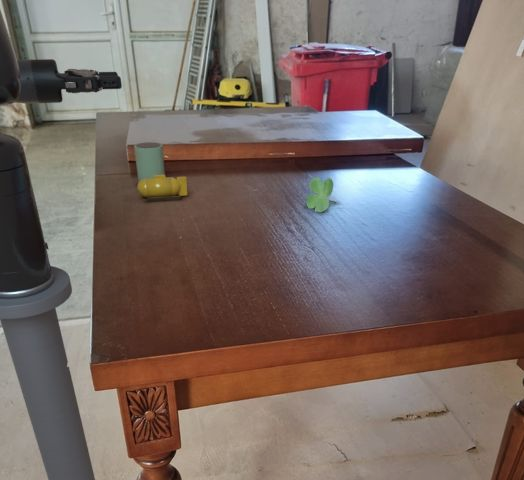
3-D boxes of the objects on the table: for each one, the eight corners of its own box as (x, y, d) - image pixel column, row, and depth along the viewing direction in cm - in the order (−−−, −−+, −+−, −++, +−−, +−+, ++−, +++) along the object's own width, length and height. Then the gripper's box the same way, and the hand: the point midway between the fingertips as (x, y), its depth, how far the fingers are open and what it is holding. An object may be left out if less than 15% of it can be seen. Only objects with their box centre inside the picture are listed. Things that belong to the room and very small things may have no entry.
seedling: (326, 229, 111) (308, 219, 106) (317, 197, 114) (300, 186, 109) (354, 212, 107) (338, 201, 102) (345, 180, 109) (328, 168, 104)
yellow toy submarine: (138, 202, 109) (135, 178, 106) (138, 196, 112) (135, 173, 109) (188, 200, 111) (186, 176, 108) (186, 194, 114) (185, 171, 111)
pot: (153, 189, 116) (149, 149, 112) (132, 185, 119) (127, 145, 114) (171, 183, 121) (168, 144, 116) (151, 178, 124) (147, 140, 119)
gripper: (26, 62, 93) (119, 61, 97) (31, 56, 105) (114, 56, 109) (36, 108, 97) (125, 105, 101) (39, 98, 109) (119, 95, 113)
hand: (119, 80), depth 105 cm, fingers open, 8 cm apart
